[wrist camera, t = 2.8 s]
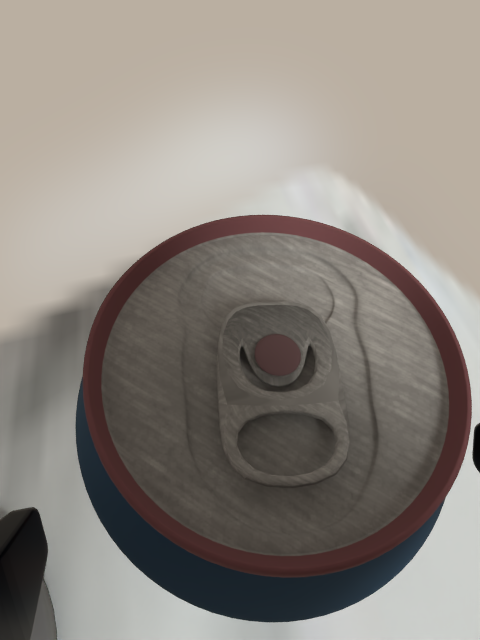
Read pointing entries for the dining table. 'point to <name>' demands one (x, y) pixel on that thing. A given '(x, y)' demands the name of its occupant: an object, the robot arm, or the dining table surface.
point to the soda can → (270, 416)
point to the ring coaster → (44, 618)
